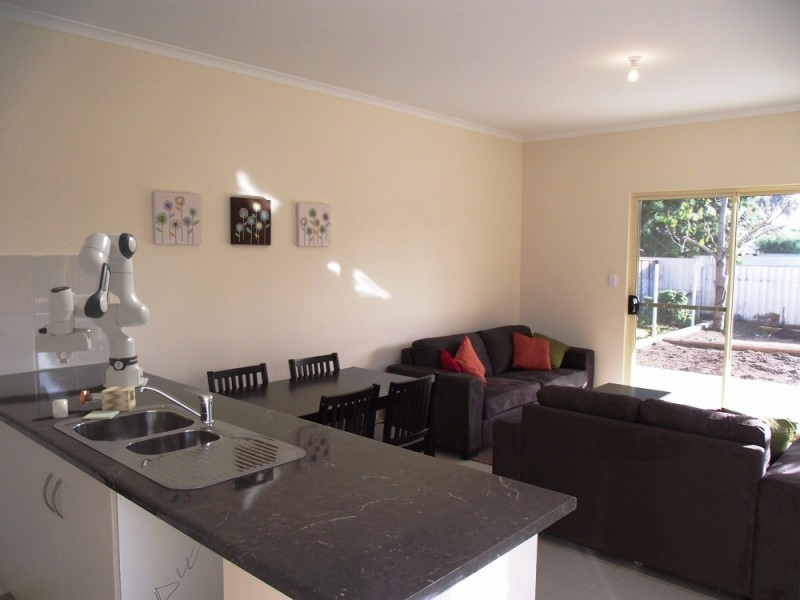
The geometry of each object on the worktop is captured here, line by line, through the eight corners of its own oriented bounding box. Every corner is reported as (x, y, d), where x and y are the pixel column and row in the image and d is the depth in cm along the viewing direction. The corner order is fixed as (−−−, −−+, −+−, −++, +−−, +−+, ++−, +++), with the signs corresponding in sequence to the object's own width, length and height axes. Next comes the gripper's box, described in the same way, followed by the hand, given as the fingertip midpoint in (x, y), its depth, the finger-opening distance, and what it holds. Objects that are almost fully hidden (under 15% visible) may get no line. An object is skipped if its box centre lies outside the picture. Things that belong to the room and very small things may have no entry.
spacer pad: (93, 412, 243) (93, 410, 243) (120, 412, 244) (119, 410, 244) (82, 419, 233) (82, 417, 233) (110, 418, 234) (110, 416, 234)
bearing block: (102, 412, 245) (101, 391, 244) (110, 406, 252) (109, 386, 252) (128, 411, 245) (127, 390, 245) (135, 406, 253) (134, 386, 253)
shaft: (79, 407, 245) (79, 392, 244) (86, 403, 251) (85, 388, 250) (111, 406, 246) (110, 391, 245) (116, 402, 252) (115, 387, 251)
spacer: (56, 414, 242) (56, 399, 241) (70, 414, 242) (69, 398, 242) (50, 418, 237) (49, 402, 236) (64, 417, 237) (63, 402, 237)
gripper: (93, 326, 249) (95, 360, 250) (39, 327, 247) (41, 362, 248) (86, 328, 242) (88, 363, 243) (31, 329, 240) (33, 365, 242)
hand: (64, 363), depth 246 cm, fingers closed
